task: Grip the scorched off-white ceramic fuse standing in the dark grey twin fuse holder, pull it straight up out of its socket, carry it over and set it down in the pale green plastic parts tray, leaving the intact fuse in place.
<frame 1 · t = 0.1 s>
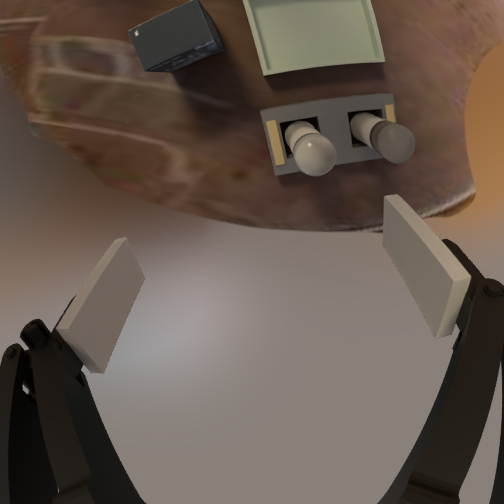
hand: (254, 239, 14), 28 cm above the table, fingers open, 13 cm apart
box: (191, 44, 31), on the table
blown fuse: (362, 125, 36), resting in fuse holder
parts tray: (313, 26, 29), on the table
fuse holder: (331, 129, 37), on the table
intact fuse: (300, 134, 38), resting in fuse holder
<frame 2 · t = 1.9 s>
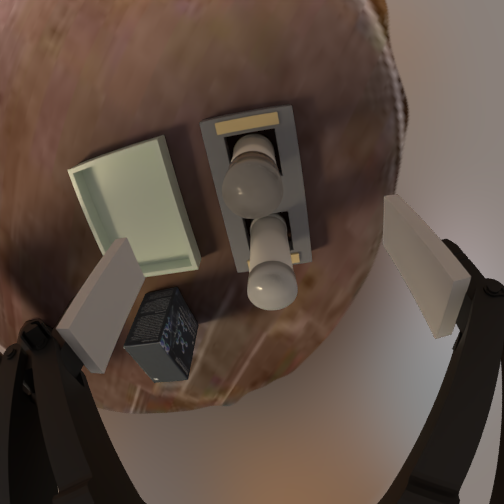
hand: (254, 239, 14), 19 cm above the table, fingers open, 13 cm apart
box: (172, 307, 43), on the table
blown fuse: (253, 151, 30), resting in fuse holder
parts tray: (137, 210, 34), on the table
fuse holder: (261, 190, 32), on the table
intact fuse: (268, 225, 35), resting in fuse holder
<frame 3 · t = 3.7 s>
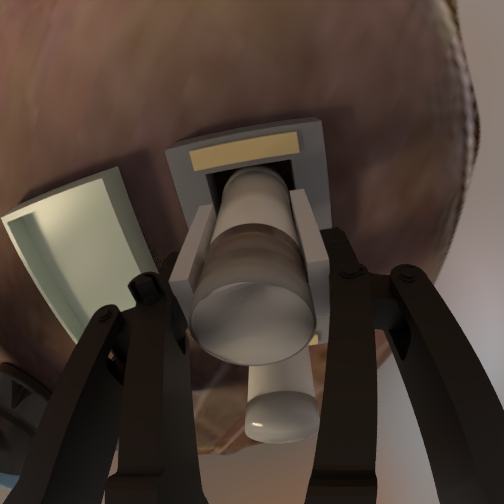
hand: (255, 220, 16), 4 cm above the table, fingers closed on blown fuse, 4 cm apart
blown fuse: (255, 192, 20), resting in fuse holder, touching gripper
parts tray: (95, 269, 23), on the table
fuse holder: (267, 248, 22), on the table
intact fuse: (275, 294, 24), resting in fuse holder
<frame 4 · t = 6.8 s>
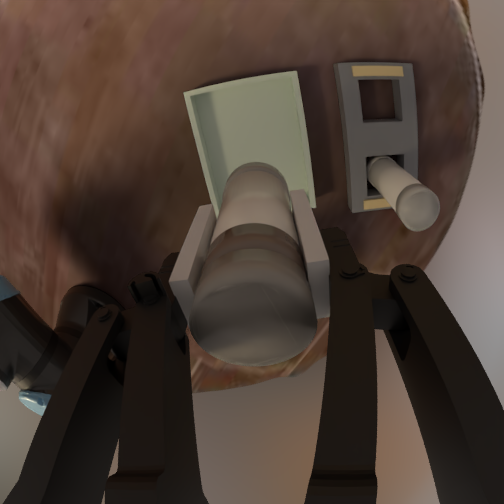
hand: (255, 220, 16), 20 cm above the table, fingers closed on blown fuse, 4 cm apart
blown fuse: (256, 192, 20), point 16 cm above the table, touching gripper
parts tray: (254, 145, 33), on the table
fuse holder: (378, 134, 31), on the table
intact fuse: (379, 169, 34), resting in fuse holder
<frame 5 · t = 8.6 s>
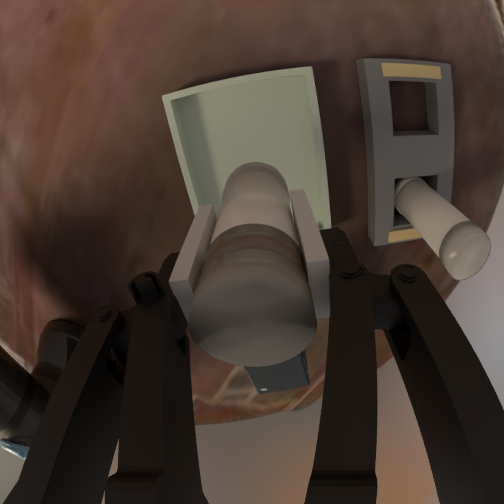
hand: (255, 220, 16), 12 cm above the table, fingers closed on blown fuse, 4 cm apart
box: (270, 296, 35), on the table
blown fuse: (256, 192, 20), point 8 cm above the table, touching gripper
parts tray: (254, 162, 26), on the table
fuse holder: (407, 150, 25), on the table
intact fuse: (406, 192, 27), resting in fuse holder
when the fingers open (5 cm above the table, at t = 10.1 s): blown fuse stays where it is, resting on parts tray.
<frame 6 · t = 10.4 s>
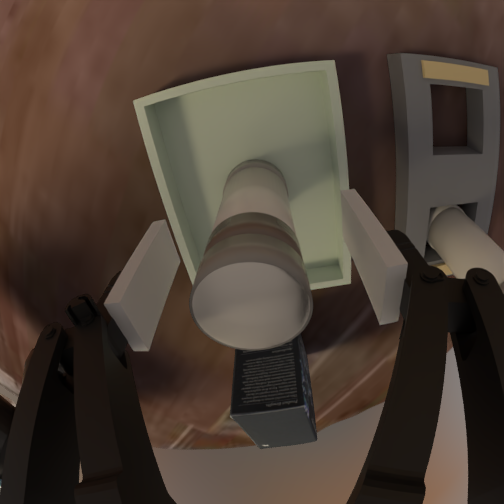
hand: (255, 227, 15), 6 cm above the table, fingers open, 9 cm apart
box: (274, 336, 29), on the table
blown fuse: (255, 188, 20), point 1 cm above the table, touching parts tray
parts tray: (256, 185, 21), on the table
fuse holder: (443, 170, 19), on the table
intact fuse: (439, 220, 21), resting in fuse holder
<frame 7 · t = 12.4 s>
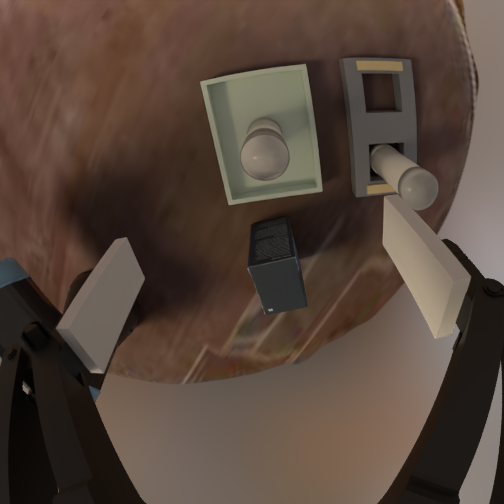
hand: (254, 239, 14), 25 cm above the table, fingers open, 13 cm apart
box: (275, 241, 43), on the table
blown fuse: (264, 133, 34), point 1 cm above the table, touching parts tray
parts tray: (264, 132, 35), on the table
fuse holder: (379, 125, 33), on the table
intact fuse: (381, 157, 35), resting in fuse holder
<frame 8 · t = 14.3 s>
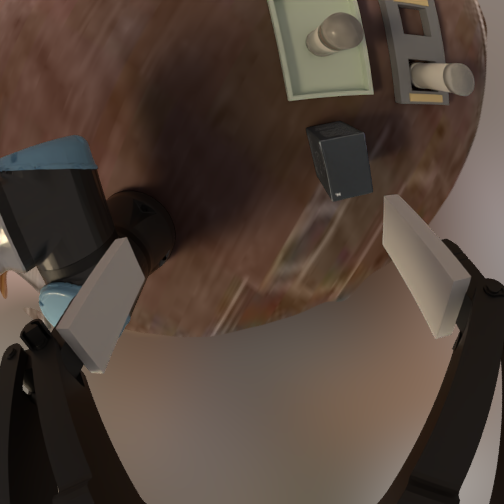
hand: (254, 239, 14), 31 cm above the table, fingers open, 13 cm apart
box: (328, 147, 41), on the table
blown fuse: (320, 43, 32), point 1 cm above the table, touching parts tray
parts tray: (319, 43, 32), on the table
fuse holder: (413, 48, 31), on the table
intact fuse: (417, 75, 33), resting in fuse holder
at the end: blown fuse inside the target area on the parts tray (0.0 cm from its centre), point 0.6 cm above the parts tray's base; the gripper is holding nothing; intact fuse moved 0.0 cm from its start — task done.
